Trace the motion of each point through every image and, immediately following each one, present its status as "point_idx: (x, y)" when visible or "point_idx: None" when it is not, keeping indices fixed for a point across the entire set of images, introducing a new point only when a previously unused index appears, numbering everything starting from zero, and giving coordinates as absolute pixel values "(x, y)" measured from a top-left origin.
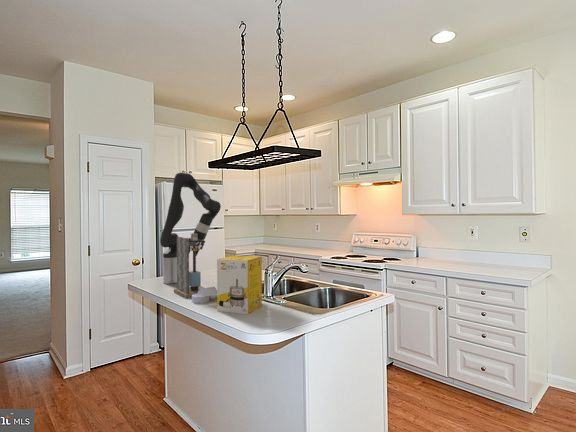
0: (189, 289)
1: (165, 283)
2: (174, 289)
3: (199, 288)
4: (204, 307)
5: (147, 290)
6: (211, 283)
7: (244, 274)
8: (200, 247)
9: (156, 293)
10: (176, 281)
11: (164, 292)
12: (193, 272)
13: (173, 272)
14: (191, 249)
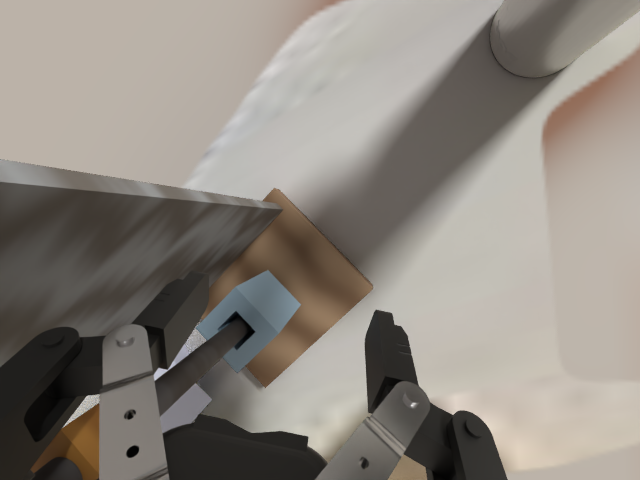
0: (279, 269)
1: (493, 20)
2: (269, 193)
3: (306, 311)
4: (89, 400)
5: (307, 25)
6: (532, 303)
7: None
8: (439, 468)
9: (253, 112)
10: (534, 73)
11: (277, 140)
12: (215, 330)
13: (548, 24)
14: (79, 417)
